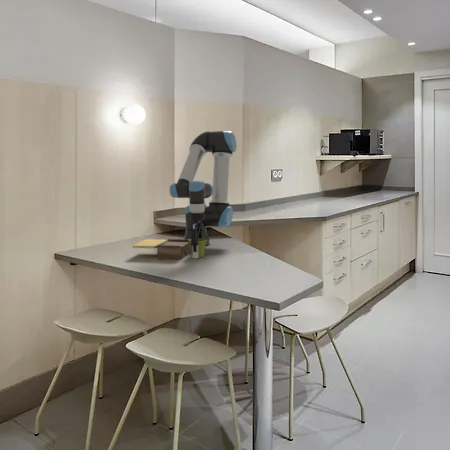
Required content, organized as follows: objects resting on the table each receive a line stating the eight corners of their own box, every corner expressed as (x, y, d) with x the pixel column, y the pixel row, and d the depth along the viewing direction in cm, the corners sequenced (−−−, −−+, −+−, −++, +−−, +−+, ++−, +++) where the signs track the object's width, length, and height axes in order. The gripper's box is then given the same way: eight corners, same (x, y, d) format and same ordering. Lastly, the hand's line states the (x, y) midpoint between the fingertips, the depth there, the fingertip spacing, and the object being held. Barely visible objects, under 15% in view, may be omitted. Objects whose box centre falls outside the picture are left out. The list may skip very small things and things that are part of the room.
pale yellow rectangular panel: (156, 246, 246) (132, 245, 249) (156, 248, 247) (132, 248, 249) (168, 239, 264) (145, 239, 267) (168, 241, 264) (145, 241, 267)
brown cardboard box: (180, 259, 245) (180, 245, 244) (157, 259, 248) (156, 245, 246) (190, 252, 262) (190, 239, 261) (168, 251, 265) (168, 238, 264)
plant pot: (197, 253, 259) (197, 237, 258) (211, 256, 253) (211, 239, 252) (185, 257, 252) (184, 240, 251) (198, 259, 246) (198, 242, 245)
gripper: (195, 209, 260) (196, 251, 264) (183, 214, 239) (184, 260, 242) (209, 209, 259) (210, 252, 262) (198, 214, 238) (199, 260, 241)
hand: (198, 256), depth 252 cm, fingers open, 9 cm apart
